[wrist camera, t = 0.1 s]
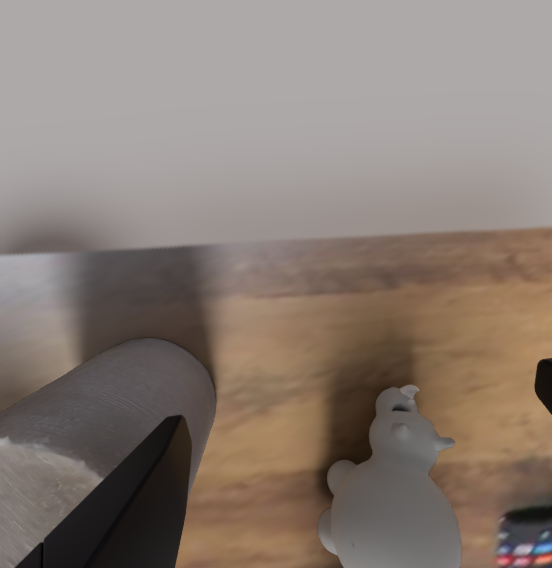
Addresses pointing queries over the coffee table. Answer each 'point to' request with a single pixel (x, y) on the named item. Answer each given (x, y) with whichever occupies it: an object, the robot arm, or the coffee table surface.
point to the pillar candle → (92, 433)
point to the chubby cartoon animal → (392, 495)
